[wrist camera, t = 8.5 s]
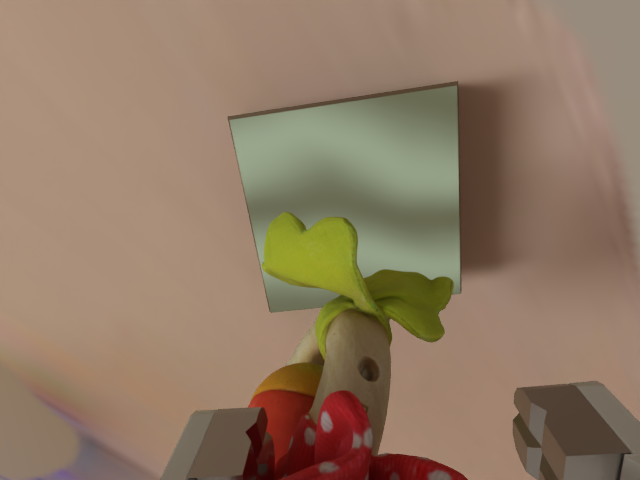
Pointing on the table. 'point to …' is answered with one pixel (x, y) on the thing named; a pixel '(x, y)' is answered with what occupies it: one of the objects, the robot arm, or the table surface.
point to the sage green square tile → (359, 180)
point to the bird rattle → (343, 357)
